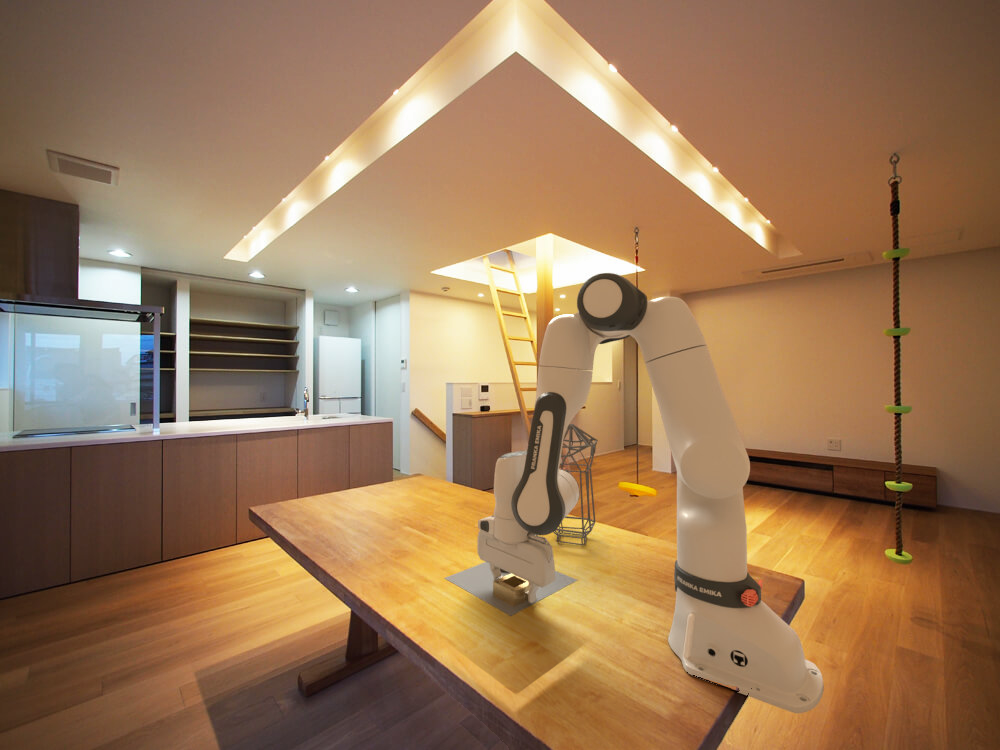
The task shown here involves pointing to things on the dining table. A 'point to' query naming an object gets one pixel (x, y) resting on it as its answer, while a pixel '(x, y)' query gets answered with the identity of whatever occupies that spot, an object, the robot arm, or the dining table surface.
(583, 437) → the geometric lantern
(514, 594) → the wooden collar
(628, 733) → the dining table surface
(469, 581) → the post board
